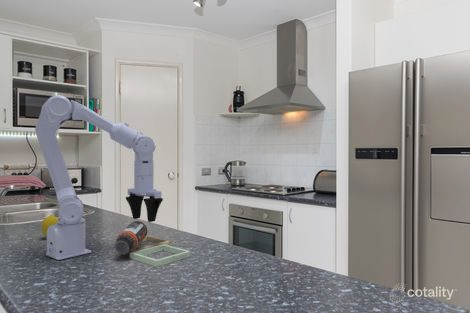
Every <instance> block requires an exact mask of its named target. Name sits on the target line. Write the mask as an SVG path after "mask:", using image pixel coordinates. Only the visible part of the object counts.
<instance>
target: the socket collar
mask: <svg viewBox="0 0 470 313" xmlns="http://www.w3.org/2000/svg"><path fill="white" fill-rule="evenodd" d="M145 242H150V243H152V244H150V245H145V246H142V247H139V246H137V248H136V249H135V250H134V251H132V252H135V251H139V250H143V249H147V248H151V247H155V246H159V245H163V244H164V245H168V246H172V240H169V239H164V238H160V237H156V236H152V235H146V237H145V238H144V239H143V241H142V242H141V243H145ZM153 243H154V244H153Z"/></svg>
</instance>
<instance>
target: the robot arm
mask: <svg viewBox="0 0 470 313" xmlns="http://www.w3.org/2000/svg"><path fill="white" fill-rule="evenodd" d="M70 118H72V121H81V120H82V121H85V122H86V123H88V124H91V125H93V126H94V127H97V128H98V129H100V130H103V131H105V132H106V133H108V134H109V137H110V139H111V140H112V141H115V142H116V143H117V144H120V145H122V146H123V147H125V148H127V149H129V150H133V152H134V162H133V166H134V167H133V172H134V174H133V176H134V177H133V178H134V179H133V182H134V184H133V186H134V187H133V188H131V187H130V188H127V196H125V200H126V202H127V203H128V206H129V208H130V211H131V216H132V219H133V220H136V219H137V220H138V219H140V218H141V215H142V214H141V213H142V204H143V202H144V205H145V208H146V216H147V217H146V218H147V222H148V223H152V222H156V220H157V214H158V211H159V208H160V206H161V204H162V202H163V201H164V198H162V190H157V189H156V188H154V176H155V175H154V167H155V166H154V152H155V151H156V145H155V142H154V140H153V139H152V138H151V137H149V136H147V135H146V136H143V135H144V133H143V132H142V131H137V130H135V129H133V128H132V127H130V124H129V123H127V122H124V123H123V122H117V123H114V122H112V121H110V120H108V118H105V117H104V116H102V115H101V114H98V113H97V112H95V111H93V110H92V109H91V108H89V107H87V106H85V105H83V104H82V103H80V102H77V101H74V100H72V99H71V100H69V98H68V97H66V96H64V95H59V94H57V95H53V96H52V95H51V96H50V97H49V98H48V99H47V100H46V101H45V103H44V104H43V105H42V106H41V110H40V114H39V116H38V119H37V122H36V125H35V128H34V130H35V135H36V138H37V141H38V144H39V146H40V147H39V148H40V150H41V152H42V155H43V156H42V157H43V158H44V161H45V164H46V168H47V169H48V173H49V176H50V179H51V182H52V185H53V188H54V190H55V194H56V200H57V203H58V213H57V214H58V217H59V218H58V219H59V220H58V221H57V224H55V225H52V226H49V227H48V229H47V237H46V253H45V256H47V257H50V258H52V259H54V260H57V261H60V260H65V259H69V258H73V257H78V256H81V255H86V254H91V253H92V250H90V249H88V248H86V219H85V218H83V216H84V213H85V212H84V203H83V201H82V200H81V199H80V198H79V197H78V196H77V194H76V191H75V188H74V185H73V183H72V179H71V176H70V173H69V170H68V167H67V164H66V160H65V157H64V154H63V153H62V149H61V146H60V143H59V141H58V138H57V132H58V131H59V129H60V128H61V126H62V125H63V124H64V123H66V122H67V121H68V120H69V119H70Z"/></svg>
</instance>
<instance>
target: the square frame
mask: <svg viewBox="0 0 470 313" xmlns="http://www.w3.org/2000/svg"><path fill="white" fill-rule="evenodd" d="M162 251H163V252H168V253H172V255H169V256H165V257H162V258H158V259H157V258H153V257H150V256H147V255H151V254H154V253H155V254H156V253H158V252H162ZM190 257H191V251H190V250H188V249H182V248H179V247H177V246H172V245H171V246H168V245H164V244H163V245H159V246H155V247H151V248H147V249H143V250H139V251H135V252H130V253H129V259H131V260H134V261H137V262H140V263H143V264H146V265H149V266H152V267H155V268H159V267H161V266H165V265H168V264H171V263H175V262H177V261H181V260H184V259H187V258H190Z"/></svg>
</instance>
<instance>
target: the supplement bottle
mask: <svg viewBox="0 0 470 313" xmlns="http://www.w3.org/2000/svg"><path fill="white" fill-rule="evenodd" d="M146 236H148V228H147V225H146V224H145V223H144V222H142V221H139V220H135V221H132V222H131V223H129V225H128V226H126V228H125V229H123V230H122V231H121V232H120V233H119V234H118V236H116V241H115V245H114V249H115V251H116V252H117V253H118V254H120V255H126V254H130V253H131V252H132V251H134V250H135V249H136V248H137V247H139V246H140V244H141V243H143V242H142V241H143V239H144V238H145V237H146Z"/></svg>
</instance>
